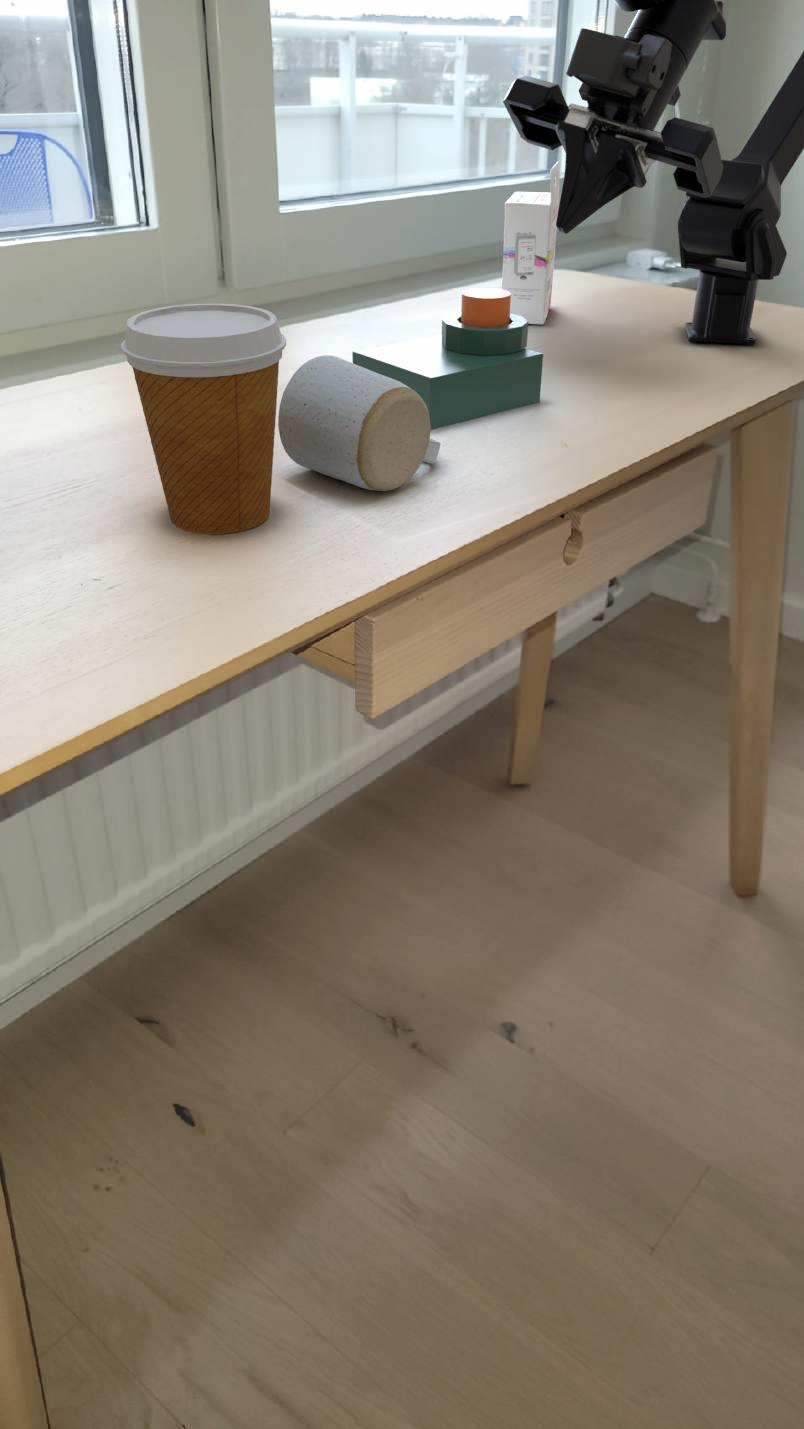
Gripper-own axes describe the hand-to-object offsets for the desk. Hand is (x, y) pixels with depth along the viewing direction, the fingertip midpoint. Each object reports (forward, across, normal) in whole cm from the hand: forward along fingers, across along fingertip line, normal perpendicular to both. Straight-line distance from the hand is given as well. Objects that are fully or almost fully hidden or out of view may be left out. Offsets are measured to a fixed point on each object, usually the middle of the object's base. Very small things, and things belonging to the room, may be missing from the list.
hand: (560, 230), depth 89 cm
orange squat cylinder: (+10, -1, -2) cm, 10 cm away
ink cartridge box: (0, -12, +24) cm, 27 cm away
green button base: (+17, -1, -2) cm, 17 cm away
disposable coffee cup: (+34, +2, -26) cm, 43 cm away
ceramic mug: (+27, +5, -16) cm, 32 cm away
